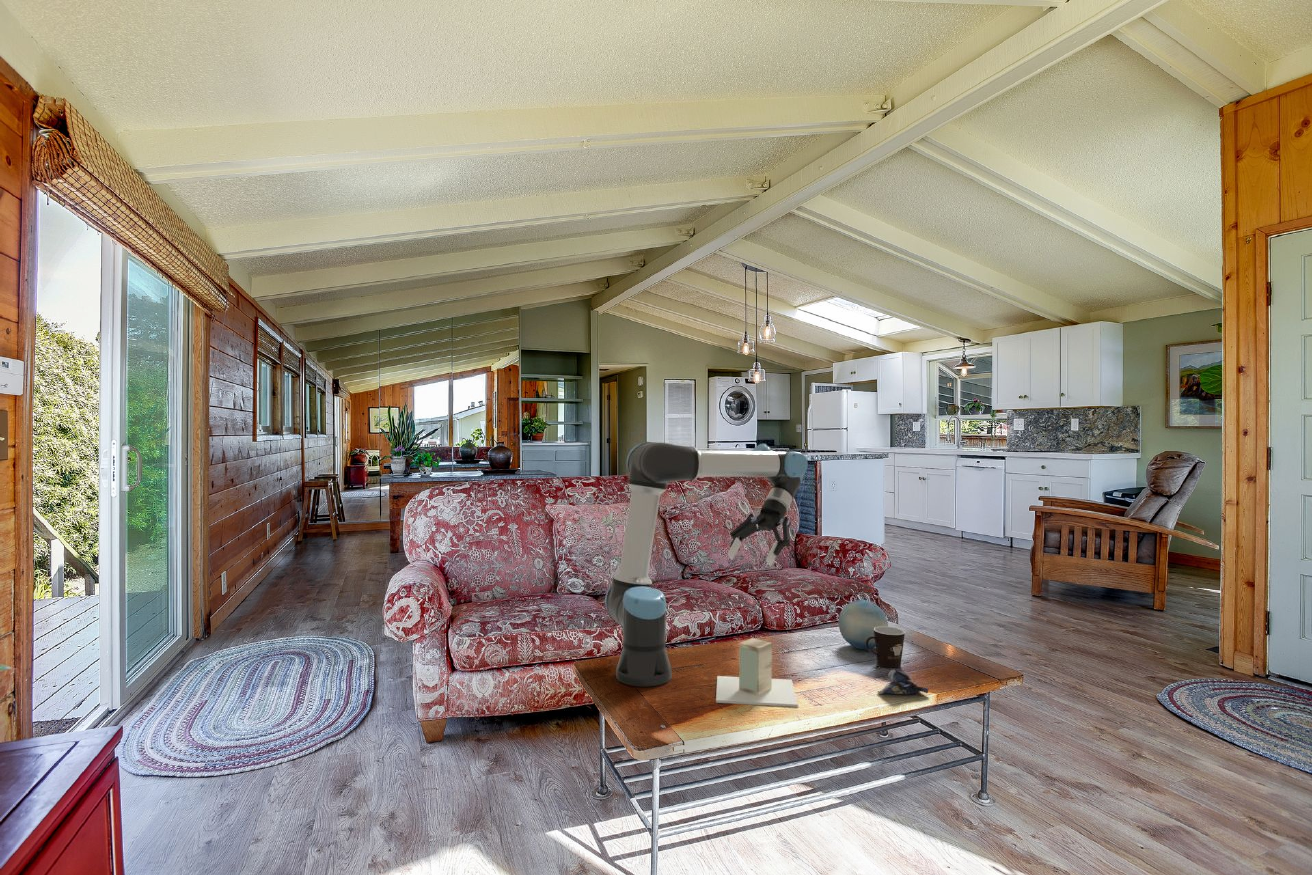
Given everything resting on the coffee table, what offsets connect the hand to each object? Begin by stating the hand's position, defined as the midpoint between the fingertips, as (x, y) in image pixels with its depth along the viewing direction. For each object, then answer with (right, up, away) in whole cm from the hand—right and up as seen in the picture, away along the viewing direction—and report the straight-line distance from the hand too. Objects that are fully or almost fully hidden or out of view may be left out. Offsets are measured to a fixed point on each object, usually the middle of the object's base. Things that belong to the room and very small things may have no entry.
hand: (748, 560), depth 195 cm
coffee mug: (+39, -30, -3) cm, 49 cm away
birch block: (-2, -29, -25) cm, 38 cm away
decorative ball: (+38, -30, +12) cm, 50 cm away
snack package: (+36, -30, -24) cm, 53 cm away
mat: (-2, -29, -25) cm, 38 cm away
